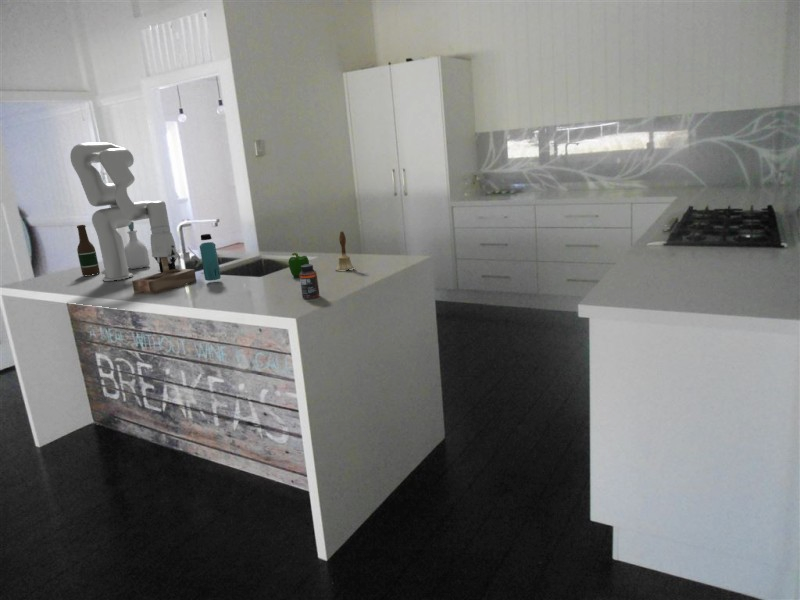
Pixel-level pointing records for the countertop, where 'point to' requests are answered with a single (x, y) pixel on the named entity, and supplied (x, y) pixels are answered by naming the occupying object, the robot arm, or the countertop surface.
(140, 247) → the soap bottle
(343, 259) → the hand bell
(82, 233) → the beer bottle
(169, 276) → the bore block
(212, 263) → the beverage bottle
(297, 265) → the bell pepper
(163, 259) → the pin
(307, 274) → the supplement bottle
